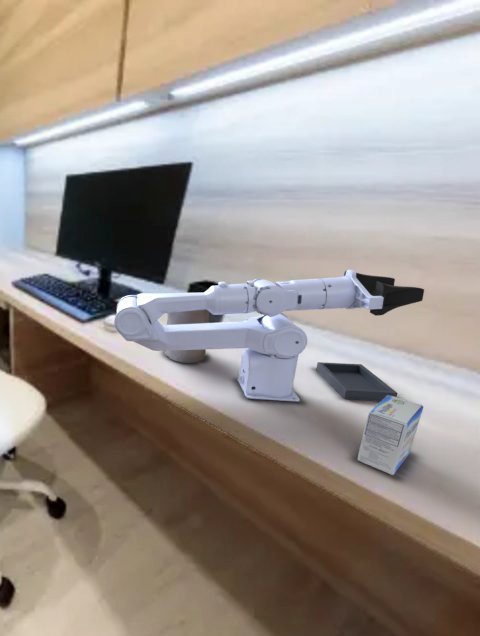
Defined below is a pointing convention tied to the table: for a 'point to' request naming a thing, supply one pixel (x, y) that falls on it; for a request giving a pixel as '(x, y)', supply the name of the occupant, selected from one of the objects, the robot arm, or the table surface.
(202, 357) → the pillar candle
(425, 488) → the table surface
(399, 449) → the medicine box
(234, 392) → the table surface
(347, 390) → the pad
